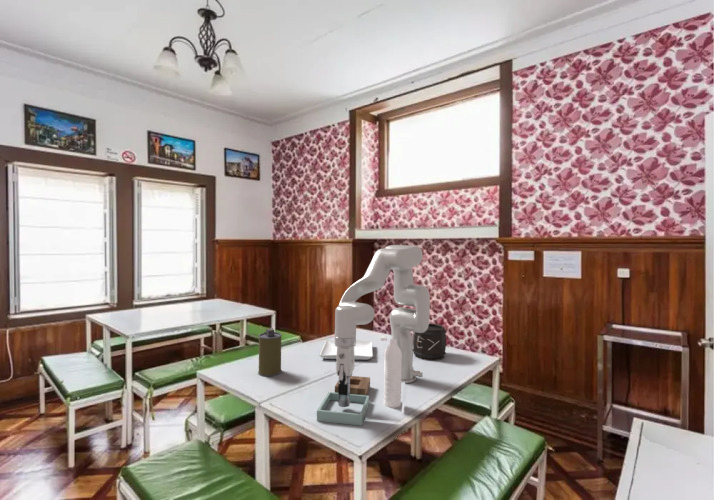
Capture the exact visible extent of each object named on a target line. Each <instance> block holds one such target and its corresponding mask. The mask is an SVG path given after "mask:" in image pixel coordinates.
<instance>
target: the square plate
mask: <svg viewBox="0 0 714 500" xmlns="http://www.w3.org/2000/svg"><path fill="white" fill-rule="evenodd" d="M373 344H374V342H373V341H372V340H371V341H370V340H369V341H368V340H357V339H356V346H354V359H355V361H363V360H364V361H366V360H367V361H368V360H370V359H371V358H372V357H374V354H373V353H374V352H373ZM318 356H319V357H320V358H321V359H326V360H327V359H328V360H336V359H337V347H336V346H335V339H329V340H328V339H327V340H325V341H324V344H323V346H322V348H321V351H320V352H319V355H318Z"/></svg>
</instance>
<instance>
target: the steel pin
mask: <svg viewBox="0 0 714 500" xmlns="http://www.w3.org/2000/svg"><path fill="white" fill-rule="evenodd" d="M343 375H346V374H345V373H343ZM337 376H338V377H339V375H337ZM350 376H353V373H352V374H351V375H350ZM350 376H347V383H348V394H347V395H339V401H338V400H337V401H338V406H339V407H341V408H347V407H349V406H350V403H351V402H350ZM343 378H345V377H343Z"/></svg>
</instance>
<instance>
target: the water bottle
mask: <svg viewBox="0 0 714 500" xmlns="http://www.w3.org/2000/svg"><path fill="white" fill-rule="evenodd" d="M379 340H380V341H382V342H386V341H387V340H388V337H387V336H380V339H379ZM389 340H390V341H389V344H388V346H387V347H386V348H385V350H384V354H383V355H384V356H383V357H384V358H383V360H384V361H383V362H384V363H383V367H384V368H383V403H382V404H383V405H384V406H385V407H387V408H391V409H392V408H398V407H401V405H402V395H401V394H402V382H401V368H402V367H401V366H402V360H401V359H402V352H401V350H400V348H399V347H398V345H397V340H395V339H392V338H391V339H389Z"/></svg>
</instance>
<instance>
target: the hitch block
mask: <svg viewBox="0 0 714 500" xmlns="http://www.w3.org/2000/svg"><path fill="white" fill-rule="evenodd" d="M338 384H339V379H338V381H337V382H336V384H335V386H334V393H338ZM370 388H371V377H369V376H359V375H358V376H357V375H352V376H350V394H355V395H366V396H368V394H369V391H370Z"/></svg>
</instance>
